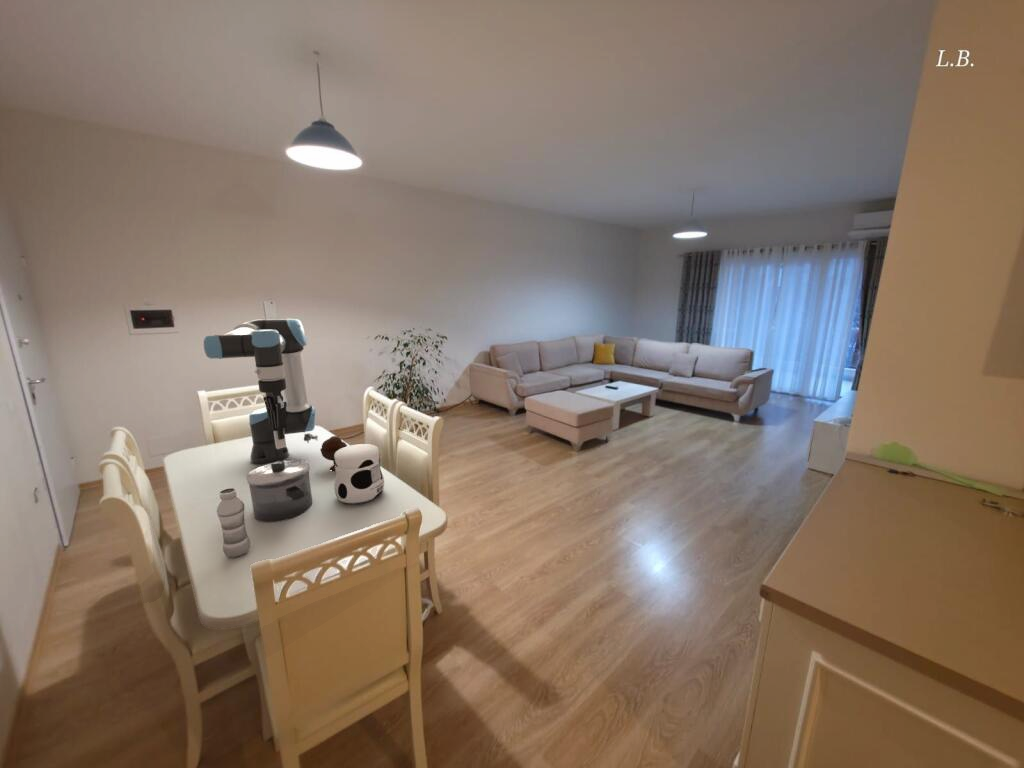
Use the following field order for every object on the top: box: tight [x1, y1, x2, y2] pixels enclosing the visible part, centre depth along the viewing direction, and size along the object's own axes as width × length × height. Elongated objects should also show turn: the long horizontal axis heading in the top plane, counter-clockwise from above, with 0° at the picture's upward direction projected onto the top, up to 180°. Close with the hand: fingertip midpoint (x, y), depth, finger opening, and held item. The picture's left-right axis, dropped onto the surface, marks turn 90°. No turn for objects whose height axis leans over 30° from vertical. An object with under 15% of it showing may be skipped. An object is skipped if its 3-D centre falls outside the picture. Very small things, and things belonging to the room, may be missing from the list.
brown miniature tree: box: [319, 435, 348, 472], centre depth 173 cm, size 11×11×15 cm
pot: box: [248, 470, 313, 523], centre depth 139 cm, size 24×18×12 cm
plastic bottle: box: [216, 487, 251, 558], centre depth 115 cm, size 6×7×20 cm
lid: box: [245, 459, 311, 486], centre depth 139 cm, size 20×19×4 cm
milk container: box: [333, 443, 385, 505], centre depth 149 cm, size 17×17×18 cm
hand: (281, 447), depth 134 cm, fingers closed
